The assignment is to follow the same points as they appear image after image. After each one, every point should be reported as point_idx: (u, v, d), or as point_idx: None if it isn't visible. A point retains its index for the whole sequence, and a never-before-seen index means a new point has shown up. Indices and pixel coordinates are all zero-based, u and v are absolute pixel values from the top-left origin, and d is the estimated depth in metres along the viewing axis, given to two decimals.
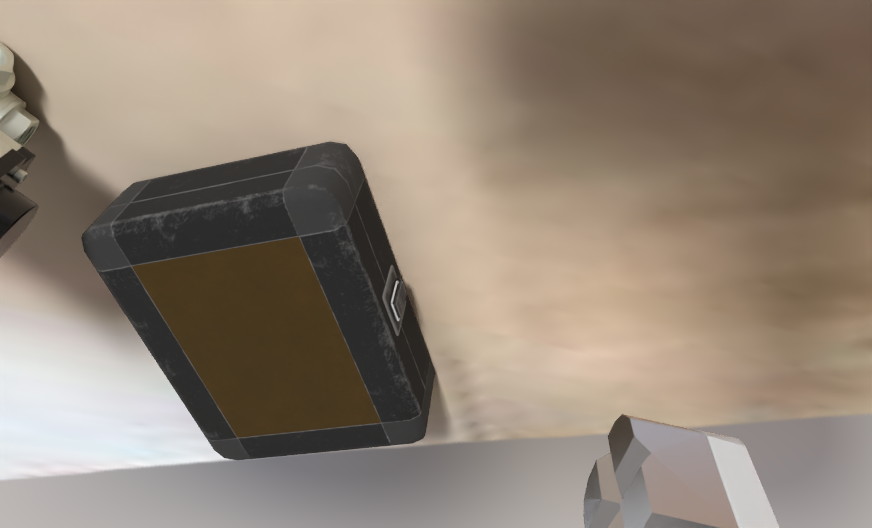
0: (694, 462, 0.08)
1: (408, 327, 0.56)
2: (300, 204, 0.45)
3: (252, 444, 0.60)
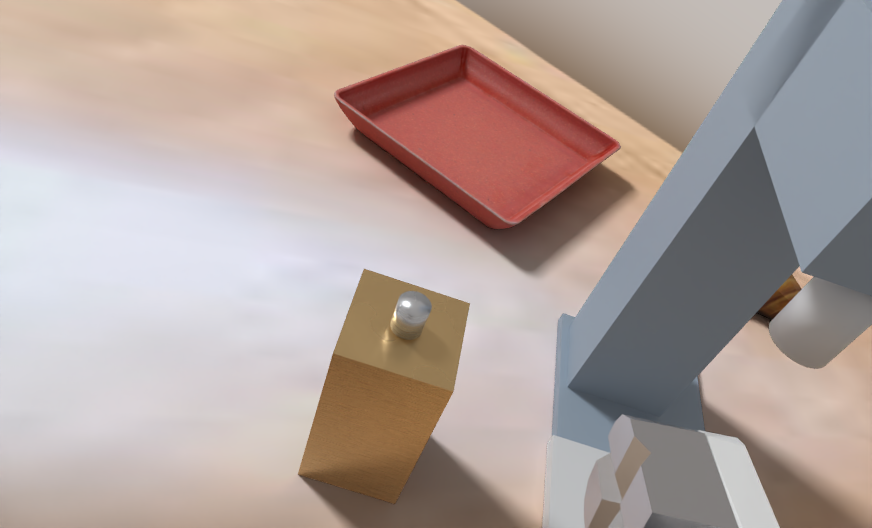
0: (694, 462, 0.08)
1: None
2: None
3: None
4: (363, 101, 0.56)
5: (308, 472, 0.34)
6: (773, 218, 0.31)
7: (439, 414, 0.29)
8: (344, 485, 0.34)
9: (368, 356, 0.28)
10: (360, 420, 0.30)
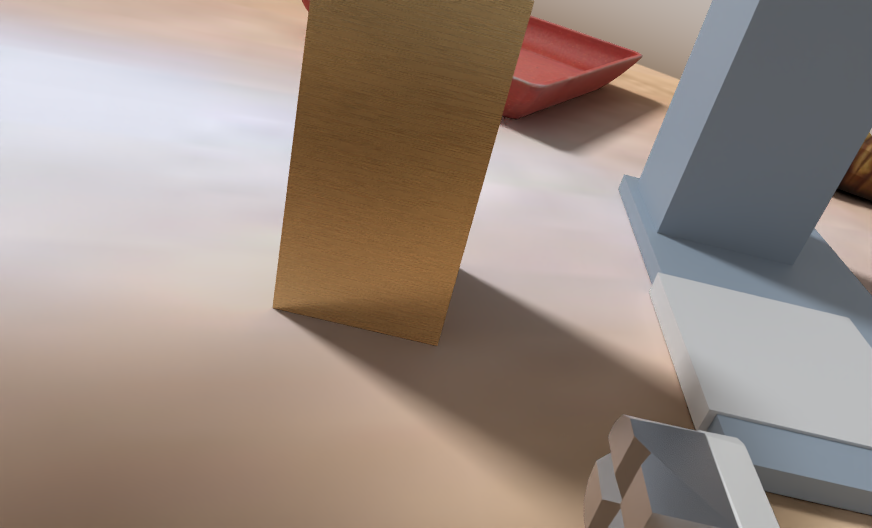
0: (694, 462, 0.08)
1: None
2: None
3: None
4: None
5: (290, 298, 0.20)
6: None
7: (510, 75, 0.16)
8: (352, 318, 0.20)
9: None
10: (371, 129, 0.17)
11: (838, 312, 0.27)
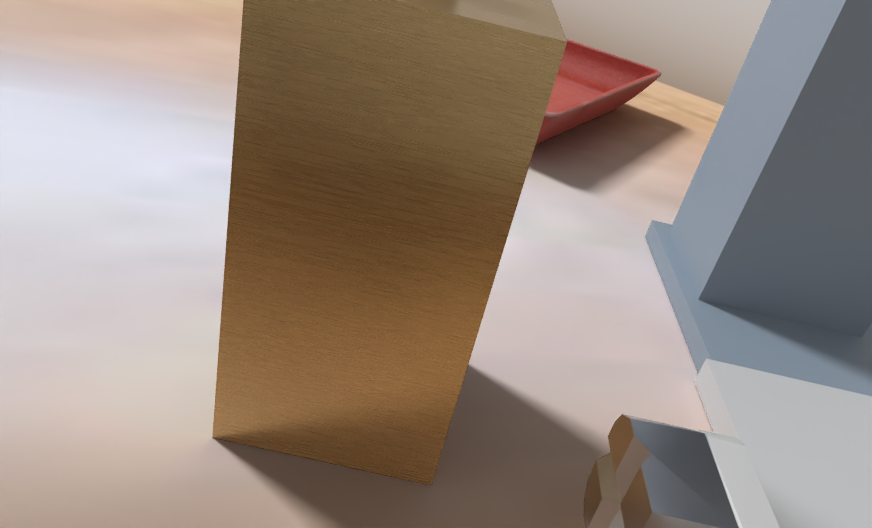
0: (694, 462, 0.08)
1: None
2: None
3: None
4: None
5: (235, 426, 0.15)
6: None
7: (530, 145, 0.11)
8: (317, 451, 0.15)
9: None
10: (335, 216, 0.12)
11: None
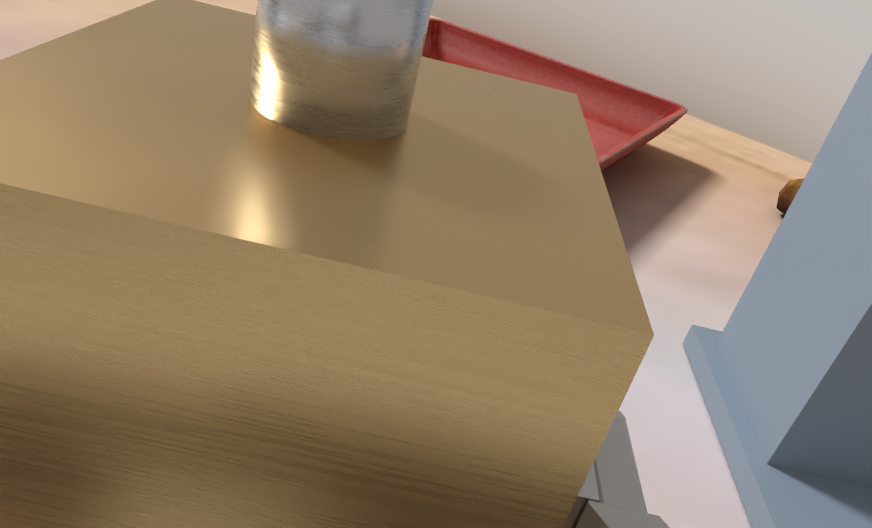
0: None
1: None
2: None
3: None
4: None
5: None
6: None
7: (554, 523, 0.05)
8: None
9: (77, 165, 0.04)
10: None
11: None
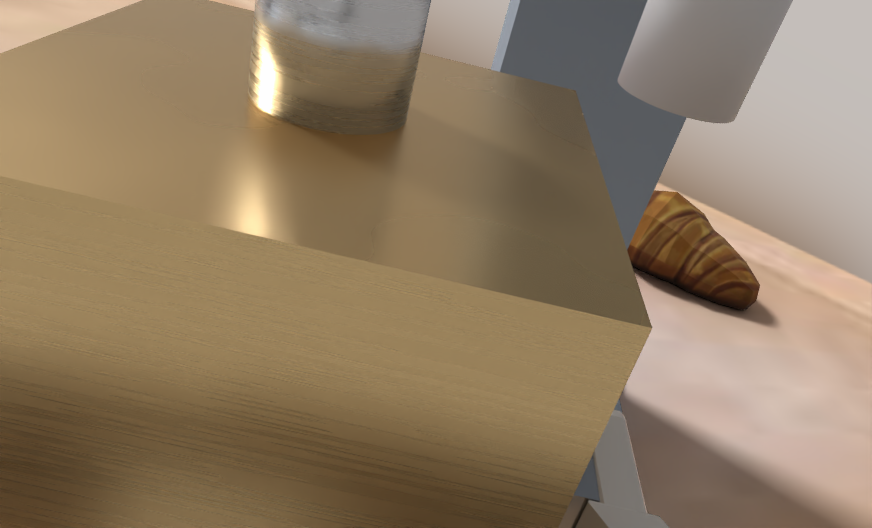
0: None
1: None
2: None
3: None
4: None
5: None
6: (636, 12, 0.20)
7: (552, 517, 0.05)
8: None
9: (75, 157, 0.04)
10: None
11: None
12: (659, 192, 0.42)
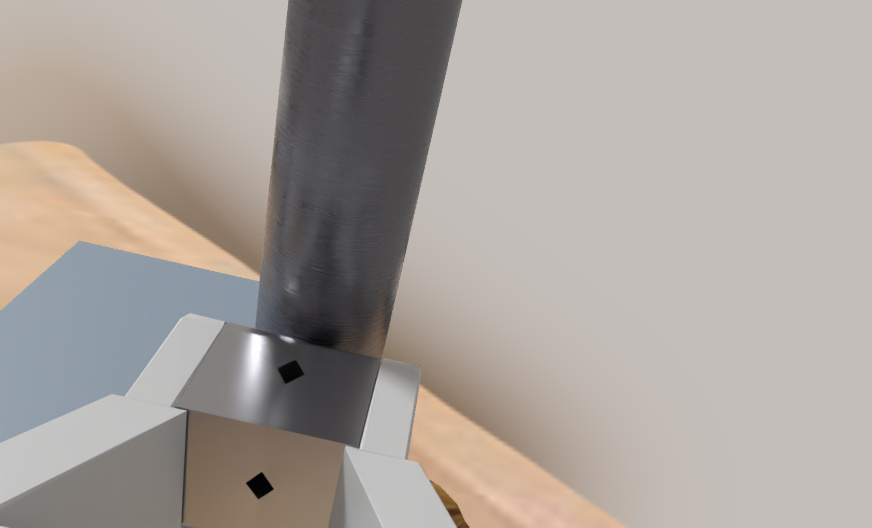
0: (349, 384, 0.08)
1: None
2: None
3: None
4: None
5: None
6: None
7: None
8: None
9: None
10: None
11: None
12: None
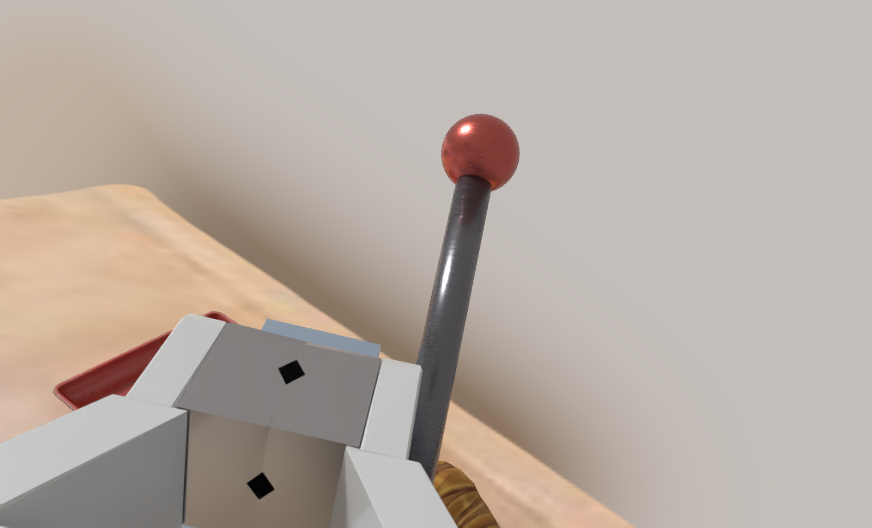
0: (350, 384, 0.08)
1: None
2: None
3: None
4: (91, 387, 0.62)
5: None
6: None
7: None
8: None
9: None
10: None
11: None
12: (437, 472, 0.58)
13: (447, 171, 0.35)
